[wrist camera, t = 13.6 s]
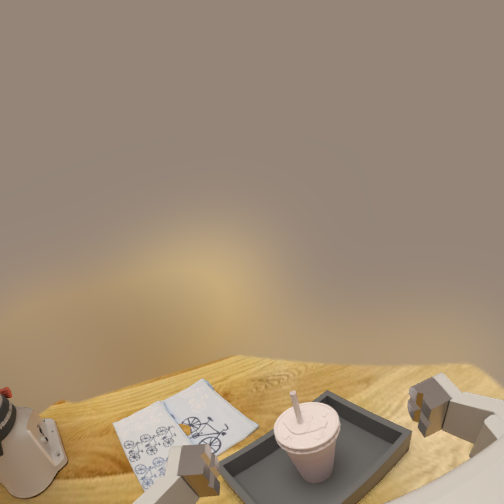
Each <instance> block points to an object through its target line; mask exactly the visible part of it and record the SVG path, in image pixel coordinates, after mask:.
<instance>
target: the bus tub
mask: <svg viewBox="0 0 504 504" xmlns="http://www.w3.org/2000/svg"><path fill="white" fill-rule="evenodd" d="M312 402H319V403H324V404H327V405H329V406H331V407H332V408H333V409H334V410H335V411H336V412H337V414H338V416H339V421H340V424H341V425H340V432H339V434H338V436H337V438H336V446H335V455H334V464H333V472H332V474H331V476H330V477H329V478H328V479H326V480H325V481H323V482H320V483H310V482H307V481H306V480H304V479H303V477H302V476H301V474H300V473H299V471H298V470H297V468H296V466H295V465H294V463H293V462H292V460H291V459H290V457H289V455H288V454H287V452H286V451H285V450H284V449H282V448H281V447H280V446H279V445H278V443H277V441H276V439H275V434H274V429H273V430H271V431H270V432H268V433H267V434H265V435H264V436H262V437H260V438H259V439H257V440H256V441H254V442H252V443H251V444H249V445H248V446H246V447H244V448H243V449H241V450H239V451H237V452H236V453H234V454H232V455H231V456H229V457H227V458H225V459H223V460H222V461H220V462H219V466H220V475H221V476H222V478H223V479H224V480H225V482H226V483H227V484H228V485H229V487H230V488H231V489H232V490H233V491H234V493H235V494H236V495H237V496H238V497H239V498H240V499H241V501H242V502H243V503H244V504H356V503H357V502H359V501H360V500H361V499H362V498H363V497H364V496H365V495H366V494H367V493H368V492H369V491H370V490H371V489H372V488H373V487H374V486H375V485H376V484H377V483H378V482H379V481H380V480H381V479H382V478H383V477H384V476H385V475H386V474H387V473H388V472H389V471H390V470H391V469H392V468H393V467H394V466H395V464H396V463H397V462H398V461H399V460H400V459H401V458H402V457H403V455H404V454H405V453H406V452H407V451H408V450H409V445H410V440H411V435H412V431H411V430H408V429H406V428H404V427H402V426H399V425H397V424H395V423H393V422H391V421H388V420H386V419H384V418H382V417H380V416H378V415H376V414H374V413H371V412H369V411H367V410H365V409H363V408H361V407H359V406H357V405H355V404H353V403H351V402H349V401H347V400H345V399H343V398H341V397H339V396H338V395H336V394H334V393H332V392H330V391H328V390H327V391H325V392H324V393H323V394H321V395H320V396H319V397H318V398H316V399H315V400H314V401H312Z"/></svg>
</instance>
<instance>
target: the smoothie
mask: <svg viewBox="0 0 504 504" xmlns="http://www.w3.org/2000/svg"><path fill="white" fill-rule="evenodd" d="M290 397H291V400H292V404H293V407H291V408H289V409H287V410H286V411H284V412H283V413H282V414H281V415H280V416H279V417H278V419H277V420H276V422H275V425H274V434H275V439H276V441H277V443H278V445H279V446H280V447H281V448H282V449H284V450H285V451H286V452H287V454H288V455H289V457H290V459H291V460H292V462H293V463H294V465H295V466H296V468H297V470H298V471H299V473H300V474H301V476H302V477H303V479H304V480H306V481H307V482H310V483H320V482H323V481H325V480H326V479H328V478H329V477H330V476H331V474H332V472H333V464H334V455H335V446H336V438H337V436H338V434H339V432H340V425H341V424H340V421H339V416H338V414H337V412H336V411H335V410H334V409H333V408H332V407H331V406H329V405H327V404H324V403H319V402H307V403H301V404H299V402H298V398H297V394H296V391H291V392H290Z"/></svg>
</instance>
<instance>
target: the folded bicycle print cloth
mask: <svg viewBox="0 0 504 504" xmlns="http://www.w3.org/2000/svg"><path fill="white" fill-rule="evenodd" d="M212 388H213V387H212V386H211V385H210V384H209V382H208V381H206V380H204V379H203V378H202V379H200V380H199V381H197V382H196V383H194V384H193V385H191V386H190V387H188V388H187V389H185V390H183V391H181V392H179V393H177V394H175V395H173V396H171V397H169V398H167V399H165V400H163V401H157V402H155V403H153V404H152V405H150V406H148V407H146V408H144V409H142V410H140V411H138V412H136V413H135V414H133V415H131V416H129V417H126V418H124V419H122V420H120V421H117V422H114V423H113V426H114V428H115V430H116V433H117V435H118V438H119V440H120V443H121V445H122V447H123V450H124V452H125V454H126V456H127V458H128V460H129V462H130V465H131V467H132V469H133V471H134V473H135V475H136V477H137V479H138V480H139V482H140V484H141V486H142V488H143V489H144V491H146V490H148V489H149V488H150V487H151V486H152V485H153V484H154V483H155V482H156V481H157V480H158V479H159V478H160V477H161V476H164V475H165V470H166V465H167V460H168V455H169V450H170V448H171V447H172V446H183V445H197V444H209V446H210V447H211V453H213V454H215V455H216V457H217V456H218V455H220V454H222V453H223V452H225V451H226V450H228V449H229V448H231V447H232V446H234V445H236V444H237V443H239V442H240V441H242V440H243V439H245V438H246V437H248V436H249V435H251V434H252V433H253V432H254V431H255V430H257V429H258V428H259V425H258V424H257V423H255V422H253V421H251V420H250V419H248V418H247V417H245V416H244V415H243V414H242V413H240V412H239V411H238V410H237V409H236V408H234V407H233V406H232V405H231V404H229V403H228V402H227V401H226V400H225V399H224V398H222V397H221V396H220V395H219V394H218V393H217V392H215V391H214V389H212ZM178 424H186V425H189V426H190V427H191V435H189V436H186V434H185V433H184V432H183V430H182V429H181V427H180V426H179V425H178Z"/></svg>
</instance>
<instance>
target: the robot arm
mask: <svg viewBox="0 0 504 504" xmlns="http://www.w3.org/2000/svg"><path fill="white" fill-rule="evenodd" d="M409 395H410V396H411V398H410V399H409V401H408V411H409V414H410V416H411V418H412V420H413V421H416V422H419V424H418V429H419V430H420V431H421V433H422V434H423V436H424V437H427V436H429V435H431V434H433V433H435V432H437V431H439V430H441V429H442V430H443V431H445V432H448V433H450V434H452V435H454V436H457V437H459V438H461V439H464V440H466V441H469V442H471V443H473V444H474V445H473V448H472V450H471V452H470V454H469V457H470V459H469V460H467V461H466V462H464V463H462V464H461V465H459V466H458V467H456V468H454V469H453V470H451V471H449V472H448V473H446V474H444V475H442V476H441V477H439V478H437V479H435V480H433V481H431V482H429V483H428V484H426V485H424V486H422V487H420V488H418V489H416V490H413V491H411V492H409V493H407V494H405V495H403V496H400V497H398V498H396V499H394V500H391V501H389V502H386V503H384V504H504V400H500V399H496V398H491V397H486V396H482V395H477V394H473V393H469V392H463V393H462V392H461V391H460V390H459V389H458V388H457V387H456V386H455V385H454V384H453V383H452V382H451V381H450V380H449V379H448V378H447V377H446V376H445V375H444V374H443V373H439V374H437V375H435V376H433V377H431V378H428V379H426V380H424V381H422V382H420V383H418V384H416V385H414V386H412V387H411V388H410V389H409ZM11 397H12V394H11V391H10V389H9V388H7V387H5V388H3V389H0V483H1V484H3V485H4V487H5V488H6V489H7V491H8V492H9V493H10V494H11V495H13V496H15V497H18V498H29V497H32V496H35V495H37V494H39V493H40V492H42V491H43V490H44V489H46V488H47V487H48V485H49V484H50V483H51V482H52V480H53V479H54V477H55V475H56V473H57V472H58V471H59V470H60V469H61V468H62V467H63V466H64V465H65V464H66V463H67V456H66V453H65V450H64V447H63V444H62V441H61V438H60V435H59V431H58V428H57V424H56V422H55V421H54V420H53V419H50V418H45V419H41V418H40V416H39V415H38V414H37V413H36V412H35V410H33V409H32V408H28V407H17V406H14V405H13V404H12V403H11V402H10V401H9V400H8V399H7V398H11ZM219 475H220V466H219V462H218V459H217V457H216V455H215V454H213V453H211V447H210V446H209V444H197V445H183V446H172V447H171V448H170V450H169V455H168V460H167V465H166V470H165V475H164V476H161V477H160V478H159V479H158V480H157V481H156V482H155V483H154V484H153V485H152V486H151V487H150V488H149V489H148V490H146V491H145V492H144V493H143V494H142V495H141V496H140V497H139V498H138V499H137V500H136V501H135V502H134V503H132V504H196V502H197V501H198V500H199V497H208V496H218V495H219V492H220V483H219V481H218V480H217V477H218V476H219Z"/></svg>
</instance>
